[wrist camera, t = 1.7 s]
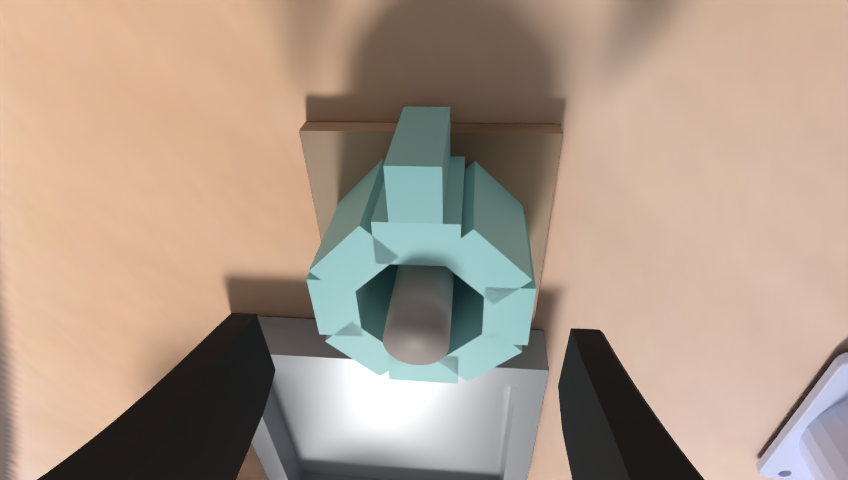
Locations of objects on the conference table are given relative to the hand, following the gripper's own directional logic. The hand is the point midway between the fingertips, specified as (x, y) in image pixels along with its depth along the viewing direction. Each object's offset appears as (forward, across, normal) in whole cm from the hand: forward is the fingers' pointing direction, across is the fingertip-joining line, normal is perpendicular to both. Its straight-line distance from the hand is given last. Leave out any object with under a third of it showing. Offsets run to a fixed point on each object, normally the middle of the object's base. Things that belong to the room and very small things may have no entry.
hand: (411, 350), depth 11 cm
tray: (+5, +2, +10) cm, 12 cm away
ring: (+4, 0, 0) cm, 4 cm away
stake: (+5, 0, 0) cm, 5 cm away
